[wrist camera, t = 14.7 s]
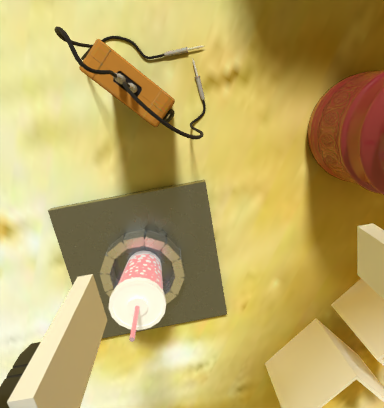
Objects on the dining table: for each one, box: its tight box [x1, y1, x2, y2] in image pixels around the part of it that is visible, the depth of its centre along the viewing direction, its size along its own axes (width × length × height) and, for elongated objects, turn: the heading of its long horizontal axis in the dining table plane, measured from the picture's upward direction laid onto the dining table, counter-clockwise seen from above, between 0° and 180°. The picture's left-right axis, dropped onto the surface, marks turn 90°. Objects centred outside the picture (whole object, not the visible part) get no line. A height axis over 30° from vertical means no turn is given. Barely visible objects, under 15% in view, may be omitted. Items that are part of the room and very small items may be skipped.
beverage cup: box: [109, 251, 166, 341], centre depth 35 cm, size 6×6×14 cm
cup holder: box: [48, 180, 227, 338], centre depth 41 cm, size 20×20×4 cm
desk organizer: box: [265, 279, 384, 408], centre depth 43 cm, size 25×11×11 cm, turn 137°
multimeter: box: [55, 27, 205, 139], centre depth 26 cm, size 15×10×20 cm
